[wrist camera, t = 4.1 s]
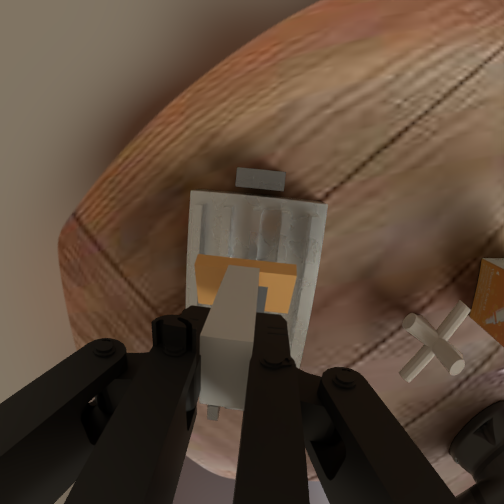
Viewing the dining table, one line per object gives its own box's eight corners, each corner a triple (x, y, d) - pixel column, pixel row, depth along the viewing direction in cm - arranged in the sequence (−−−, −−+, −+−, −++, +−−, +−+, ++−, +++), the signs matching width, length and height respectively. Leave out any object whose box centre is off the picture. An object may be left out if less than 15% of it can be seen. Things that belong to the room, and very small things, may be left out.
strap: (261, 402, 29) (260, 414, 28) (214, 396, 29) (212, 408, 28) (296, 260, 15) (296, 280, 14) (199, 250, 15) (192, 268, 14)
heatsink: (291, 380, 34) (295, 427, 26) (191, 369, 34) (175, 413, 26) (324, 178, 28) (345, 178, 20) (200, 165, 28) (175, 162, 20)
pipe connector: (363, 334, 32) (391, 389, 22) (418, 265, 29) (467, 299, 20) (413, 368, 33) (444, 417, 23) (463, 308, 30) (507, 346, 21)
